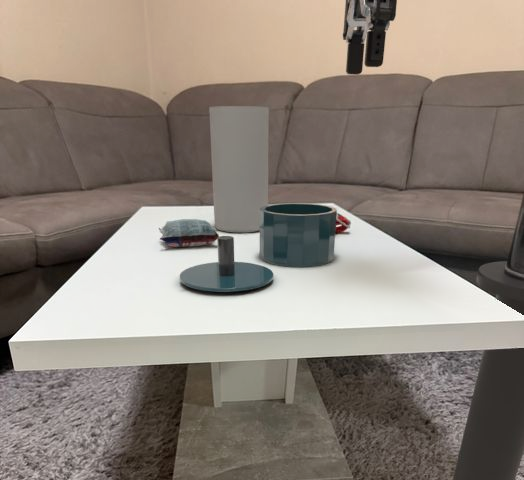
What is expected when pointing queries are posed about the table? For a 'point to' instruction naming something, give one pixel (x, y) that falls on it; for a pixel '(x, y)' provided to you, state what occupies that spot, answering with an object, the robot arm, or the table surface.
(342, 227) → the tracker holder
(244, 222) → the cylinder vase
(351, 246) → the table surface
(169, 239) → the packaged food
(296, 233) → the pot
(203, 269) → the lid
